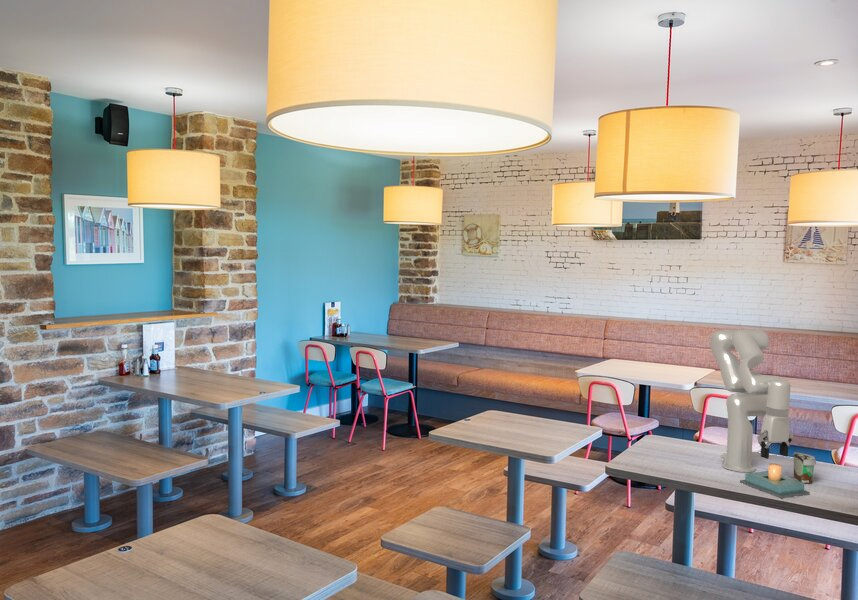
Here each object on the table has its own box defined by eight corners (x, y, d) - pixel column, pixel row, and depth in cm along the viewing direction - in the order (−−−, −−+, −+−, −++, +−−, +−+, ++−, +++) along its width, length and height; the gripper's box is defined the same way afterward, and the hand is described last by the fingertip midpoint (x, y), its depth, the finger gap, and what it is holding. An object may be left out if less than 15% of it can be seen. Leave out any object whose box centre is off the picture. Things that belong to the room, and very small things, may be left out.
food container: (820, 487, 258) (821, 461, 258) (802, 485, 259) (804, 460, 259) (808, 477, 270) (810, 453, 270) (792, 476, 271) (793, 451, 271)
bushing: (765, 484, 256) (766, 464, 255) (773, 483, 257) (774, 463, 257) (774, 488, 252) (775, 467, 251) (783, 487, 253) (784, 466, 253)
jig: (739, 482, 261) (740, 472, 261) (766, 479, 266) (767, 469, 266) (781, 498, 243) (782, 487, 243) (809, 494, 248) (810, 484, 248)
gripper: (785, 408, 260) (782, 451, 262) (752, 411, 254) (748, 455, 255) (802, 413, 253) (799, 457, 255) (768, 416, 247) (765, 461, 248)
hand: (774, 456), depth 255 cm, fingers open, 9 cm apart
